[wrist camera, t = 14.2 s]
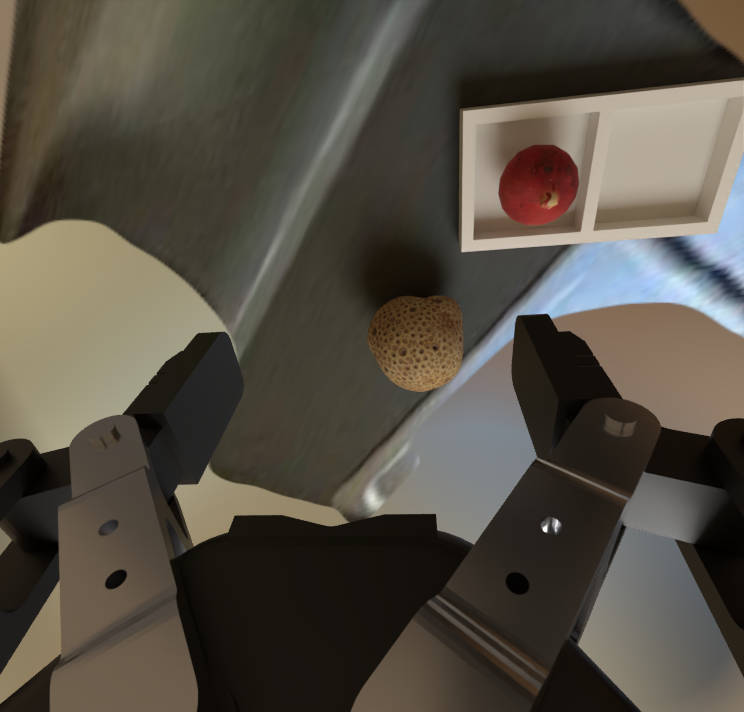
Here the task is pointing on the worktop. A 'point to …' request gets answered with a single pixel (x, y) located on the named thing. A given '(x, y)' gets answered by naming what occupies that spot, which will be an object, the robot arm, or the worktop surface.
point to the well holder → (608, 163)
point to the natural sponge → (418, 341)
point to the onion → (538, 185)
